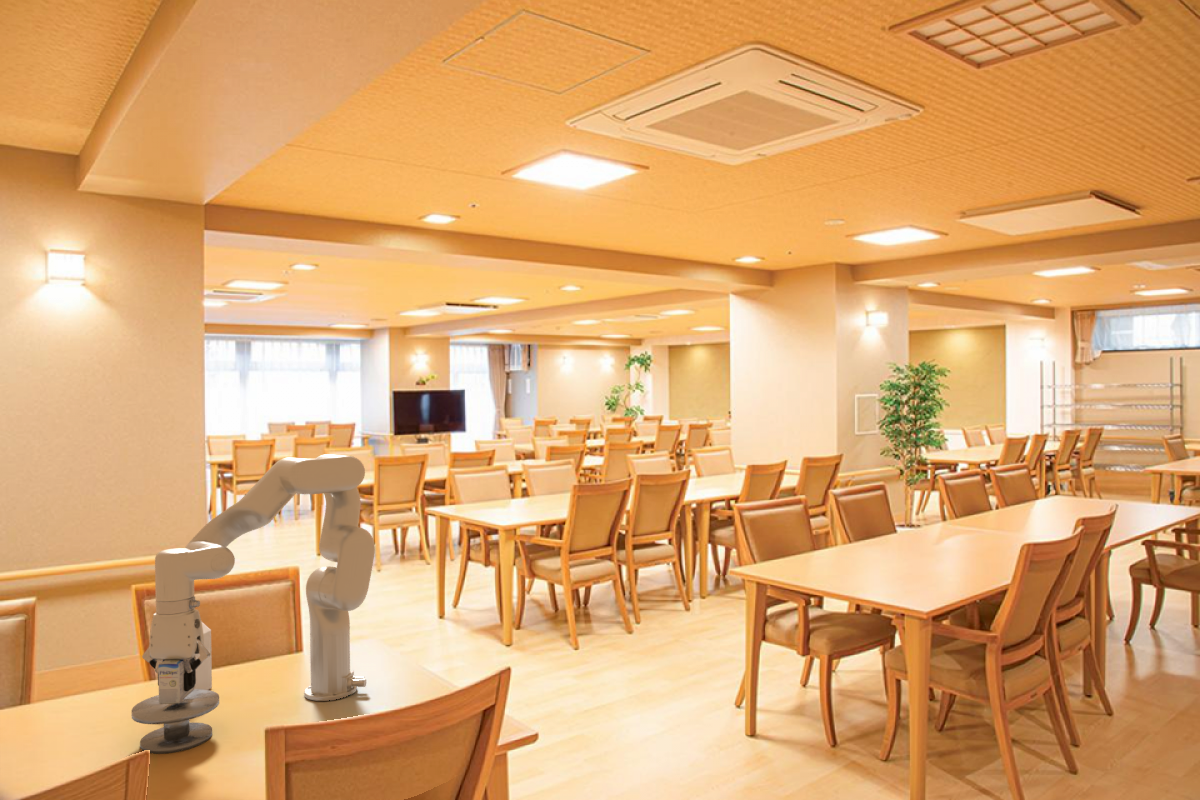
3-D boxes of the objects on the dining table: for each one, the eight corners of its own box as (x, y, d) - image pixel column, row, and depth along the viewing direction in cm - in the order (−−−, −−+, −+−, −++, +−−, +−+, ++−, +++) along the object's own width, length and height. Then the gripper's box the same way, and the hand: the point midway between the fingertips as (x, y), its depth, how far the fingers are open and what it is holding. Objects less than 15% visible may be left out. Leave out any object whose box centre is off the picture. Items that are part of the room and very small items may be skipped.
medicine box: (174, 691, 182) (173, 652, 182) (195, 690, 182) (194, 651, 182) (158, 704, 174) (157, 664, 174) (180, 703, 174) (179, 663, 174)
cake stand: (234, 724, 186) (233, 689, 186) (194, 757, 169) (193, 718, 169) (161, 724, 187) (160, 689, 187) (114, 756, 170) (113, 718, 170)
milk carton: (212, 688, 210) (211, 614, 210) (195, 698, 203) (194, 622, 203) (186, 687, 211) (185, 614, 211) (169, 697, 204) (167, 621, 204)
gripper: (222, 601, 181) (223, 683, 182) (147, 602, 182) (149, 683, 182) (204, 610, 174) (206, 695, 174) (126, 610, 175) (128, 695, 175)
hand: (177, 688), depth 178 cm, fingers closed on medicine box, 4 cm apart
